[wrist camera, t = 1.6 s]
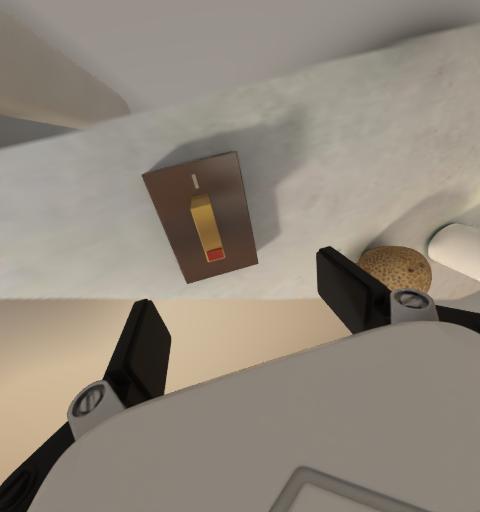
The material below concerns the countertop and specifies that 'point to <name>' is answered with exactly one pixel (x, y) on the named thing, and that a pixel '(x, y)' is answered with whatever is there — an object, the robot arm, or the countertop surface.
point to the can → (457, 249)
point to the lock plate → (223, 205)
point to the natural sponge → (397, 267)
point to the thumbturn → (207, 227)
